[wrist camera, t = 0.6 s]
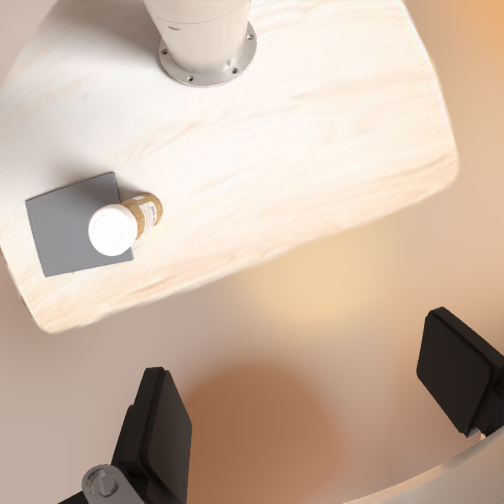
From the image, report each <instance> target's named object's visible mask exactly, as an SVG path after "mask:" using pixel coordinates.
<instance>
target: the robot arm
mask: <svg viewBox="0 0 504 504" xmlns="http://www.w3.org/2000/svg"><path fill="white" fill-rule="evenodd" d="M142 2H143V4H144V5H145V7H146V9H147V11H148V13H149V15H150V17H151V18H152V20H153V22H154V24H155V26H156V28H157V30H158V31H159V33H160V35H161V40H160V43H159V56H160V60H161V63H162V65H163V67H164V68H165V70H166V71H167V72H168V73H169V74H170V76H171V77H173V78H174V79H176V80H177V81H178V82H181V83H183V84H185V85H188V86H193V87H201V88H208V87H216V86H220V85H224V84H226V83H228V82H230V81H233V80H234V79H236V78H237V77H239V76H240V75H241V74H242V73H244V72H245V71H246V70H247V68H248V67H249V66H250V64H251V63H252V61H253V59H254V56H255V53H256V48H257V38H256V34H255V31H254V29H253V27H252V25H251V24H250V23H249V21H248V16H249V9H250V2H251V0H142ZM248 38H251V40H249V39H248ZM165 53H167V54H166V55H164V54H165ZM233 71H235V72H236V74H233V73H232V72H233ZM190 79H193V81H189V80H190ZM416 372H417V376H418V378H419V379H420V381H421V382H422V383H423V385H424V386H425V387H426V388H427V390H428V391H429V392H430V394H431V395H432V396H433V397H434V399H435V400H436V401H437V403H438V404H439V405H440V407H441V408H442V409H443V411H444V412H445V413H446V415H447V416H448V417H449V419H450V420H451V422H452V423H453V424H454V426H455V427H456V428H457V430H458V431H459V432H460V433H464V435H465V436H466V437H467V438H468V437H469V436H471V435H473V434H474V433H476V432H477V431H478V430H480V431H481V441H480V442H478V443H477V444H475V445H474V446H472V447H470V448H469V449H467V450H465V451H464V452H462V453H461V454H459V455H457V456H455V457H453V458H451V459H450V460H448V461H446V462H444V463H442V464H440V465H438V466H437V467H435V468H433V469H430V470H428V471H426V472H424V473H422V474H420V475H418V476H416V477H414V478H411V479H409V480H407V481H404V482H402V483H400V484H397V485H395V486H392V487H390V488H387V489H384V490H382V491H379V492H377V493H374V494H371V495H368V496H365V497H362V498H359V499H356V500H352V501H349V502H346V503H342V504H504V356H503V355H502V354H500V353H499V352H498V351H497V350H496V349H495V348H493V347H492V346H491V345H490V344H489V343H488V342H486V341H485V340H484V339H483V338H482V337H481V336H479V335H478V334H477V333H476V332H475V331H473V330H472V329H471V328H470V327H468V326H467V325H466V324H465V323H464V322H462V321H461V320H460V319H459V318H457V317H456V316H455V315H454V314H452V313H451V312H450V311H449V310H447V309H446V308H444V307H440V308H437V309H434V310H431V311H430V312H429V313H428V316H426V318H425V324H424V331H423V337H422V343H421V349H420V355H419V360H418V364H417V370H416ZM191 435H192V424H191V420H190V418H189V416H188V413H187V411H186V409H185V407H184V404H183V402H182V400H181V398H180V395H179V393H178V391H177V388H176V386H175V384H174V381H173V379H172V376H171V374H170V372H169V371H168V370H164V368H163V367H153V368H146V369H145V371H144V374H143V377H142V380H141V384H140V386H139V389H138V393H137V396H136V399H135V402H134V405H130V406H129V408H128V410H127V413H126V416H125V419H124V422H123V425H122V428H121V432H120V435H119V438H118V442H117V445H116V448H115V451H114V455H113V459H112V462H111V465H107V464H104V465H98V466H95V467H93V468H91V469H90V470H88V471H87V473H86V474H85V475H84V477H83V479H82V491H81V492H79V493H77V494H75V495H73V496H71V497H70V498H68V499H66V500H64V501H62V502H60V503H58V504H186V501H187V486H188V470H189V458H190V446H191Z"/></svg>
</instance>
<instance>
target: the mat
mask: <svg viewBox="0 0 504 504" xmlns="http://www.w3.org/2000/svg"><path fill="white" fill-rule="evenodd" d="M118 203H120V199H119V194H118V189H117V184H116V178H115V173H114V172H112V173H109V174H105V175H102V176H99V177H95V178H92V179H89V180H86V181H83V182H80V183H77V184H74V185H71V186H68V187H65V188H62V189H59V190H56V191H53V192H50V193H48V194H45V195H42V196H39V197H37V198H34V199H32V200H29V201H26V207H27V211H28V216H29V221H30V225H31V229H32V233H33V237H34V241H35V245H36V248H37V252H38V255H39V259H40V262H41V265H42V269H43V272H44V275H45V277H50V276H54V275H59V274H64V273H69V272H74V271H79V270H84V269H90V268H95V267H100V266H105V265H110V264H115V263H120V262H126V261H131V260H133V259H134V258H133V254H132V250H131V246H130V247H129V248H128V249H127V250H126V251H124V252H123V253H121V254H119V255H116V256H107V255H104V254H102V253H100V252H99V251H97V250H96V249H95V248H94V246H93V245H92V243H91V241H90V239H89V235H88V225H89V221H90V219H91V217H92V215H93V214H94V213H95V212H96V211H97V210H99V209H100V208H102V207H105V206H107V205H111V204H118Z"/></svg>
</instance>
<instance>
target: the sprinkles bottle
mask: <svg viewBox="0 0 504 504" xmlns="http://www.w3.org/2000/svg"><path fill="white" fill-rule="evenodd" d="M162 213H163V208H162V204H161V202H160V200H159V199H158V198H157V197H156V196H155V195H152V194H147V193H144V194H140V195H138V196H136V197H133V198H130V199H128V200H125V201H123V202H121V203H118V204H111V205H107V206H105V207H102V208H100V209H99V210H97V211H96V212H95V213H94V214H93V215H92V217H91V219H90V221H89V225H88V235H89V239H90V241H91V243H92V245H93V246H94V248H95V249H96V250H97V251H99V252H100V253H102V254H104V255H107V256H116V255H119V254H121V253H123V252H124V251H126V250H127V249H128V248H129V247H130V246H131V245H132V244H133V243H134V241H135V240H137V239H138V238H140V237H141V236H142V235H143V234H145V233H146V232H147V231H148V230H149V229H151V228H152V227H153V226H155V225H156V224H157V223H158V222H159V221H160V219H161V217H162Z"/></svg>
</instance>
